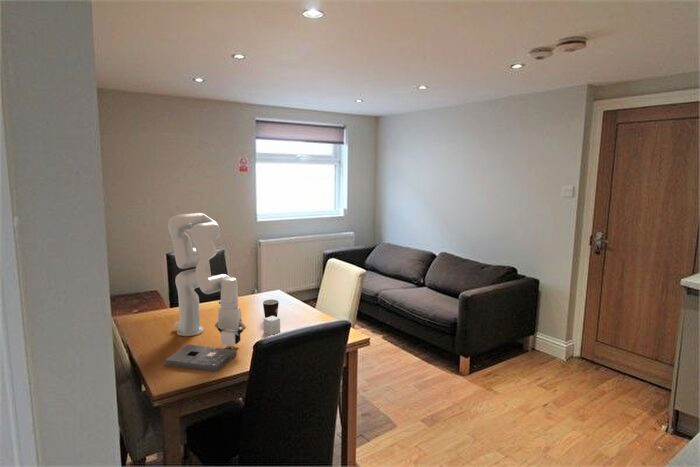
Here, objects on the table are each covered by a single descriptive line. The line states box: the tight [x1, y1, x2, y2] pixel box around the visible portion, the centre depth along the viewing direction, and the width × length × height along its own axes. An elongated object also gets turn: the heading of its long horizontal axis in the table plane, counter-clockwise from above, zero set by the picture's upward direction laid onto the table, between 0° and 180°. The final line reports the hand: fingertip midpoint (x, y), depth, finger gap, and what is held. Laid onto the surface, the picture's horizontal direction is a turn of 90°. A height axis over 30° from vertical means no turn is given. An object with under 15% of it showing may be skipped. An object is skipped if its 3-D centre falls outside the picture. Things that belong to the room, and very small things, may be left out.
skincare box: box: [263, 316, 281, 336], centre depth 214 cm, size 6×6×7 cm
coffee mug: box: [262, 299, 280, 318], centre depth 232 cm, size 12×9×10 cm
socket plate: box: [164, 343, 236, 372], centre depth 182 cm, size 24×16×3 cm, turn 77°
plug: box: [220, 330, 242, 350], centre depth 195 cm, size 6×7×8 cm
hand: (230, 341), depth 195 cm, fingers closed on plug, 6 cm apart
